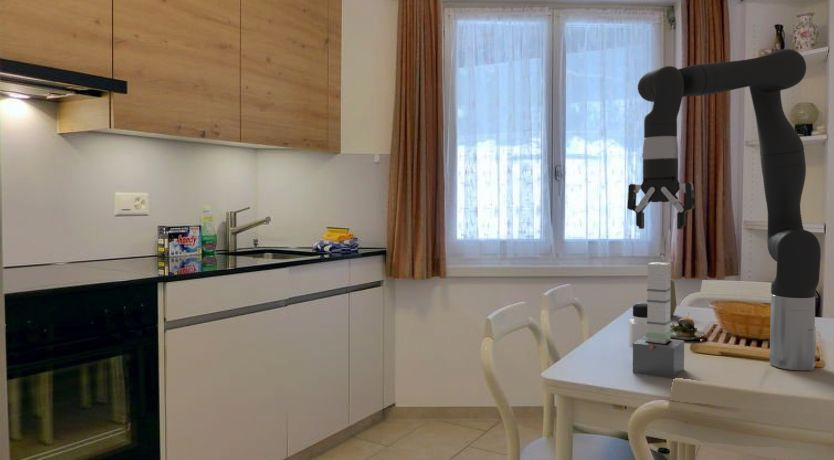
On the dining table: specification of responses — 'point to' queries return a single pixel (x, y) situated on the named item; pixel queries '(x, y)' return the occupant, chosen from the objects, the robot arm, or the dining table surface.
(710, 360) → the dining table surface
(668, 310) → the column
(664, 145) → the robot arm
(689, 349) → the dining table surface
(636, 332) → the medicine bottle
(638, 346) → the sleeve
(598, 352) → the dining table surface
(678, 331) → the burger
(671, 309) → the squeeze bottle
